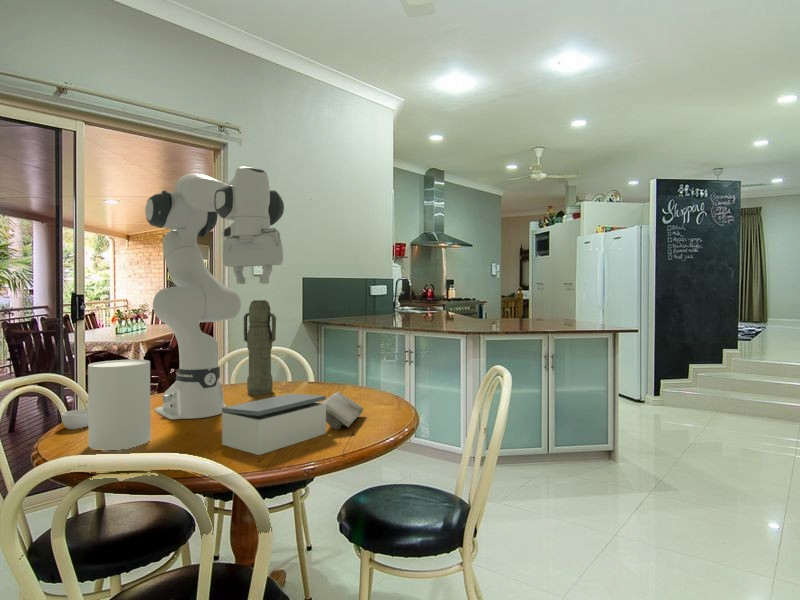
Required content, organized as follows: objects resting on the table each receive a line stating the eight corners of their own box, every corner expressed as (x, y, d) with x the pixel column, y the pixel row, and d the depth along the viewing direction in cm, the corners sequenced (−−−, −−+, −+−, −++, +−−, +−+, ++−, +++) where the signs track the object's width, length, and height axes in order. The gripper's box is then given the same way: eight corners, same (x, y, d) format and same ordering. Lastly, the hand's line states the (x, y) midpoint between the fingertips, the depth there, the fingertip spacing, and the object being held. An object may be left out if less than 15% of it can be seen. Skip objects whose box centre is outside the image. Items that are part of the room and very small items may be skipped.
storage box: (222, 444, 124) (222, 412, 124) (290, 425, 142) (290, 397, 142) (258, 455, 116) (258, 420, 115) (326, 433, 133) (325, 403, 133)
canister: (137, 432, 135) (136, 358, 135) (160, 441, 126) (159, 362, 126) (80, 443, 125) (79, 363, 124) (100, 455, 116) (100, 368, 116)
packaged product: (356, 421, 152) (329, 402, 153) (365, 408, 151) (338, 389, 153) (341, 437, 134) (311, 416, 135) (351, 422, 134) (320, 401, 135)
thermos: (272, 398, 179) (272, 300, 178) (240, 398, 179) (239, 300, 179) (279, 393, 188) (279, 300, 187) (248, 393, 188) (247, 300, 188)
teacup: (66, 436, 132) (66, 418, 132) (49, 430, 137) (48, 413, 137) (105, 427, 141) (105, 410, 140) (87, 422, 146) (87, 406, 146)
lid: (222, 411, 124) (221, 407, 124) (290, 397, 142) (289, 393, 142) (258, 415, 115) (258, 411, 116) (325, 399, 133) (325, 395, 133)
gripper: (289, 228, 125) (289, 283, 126) (238, 233, 137) (238, 284, 138) (269, 225, 120) (269, 283, 121) (218, 231, 132) (218, 284, 133)
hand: (252, 283), depth 129 cm, fingers open, 8 cm apart
